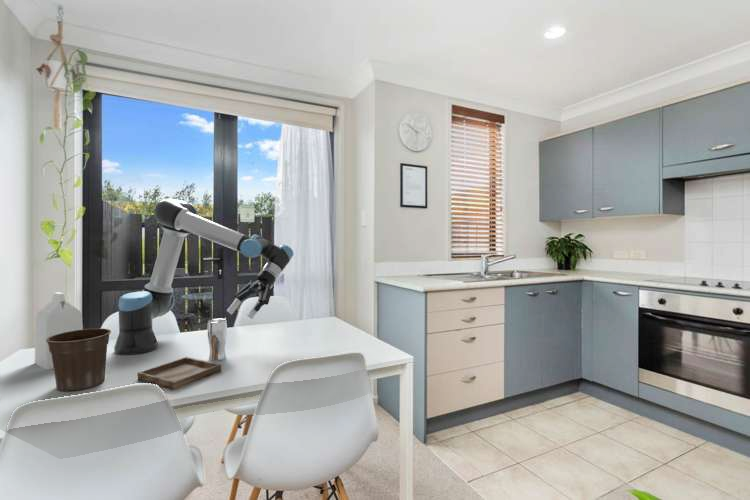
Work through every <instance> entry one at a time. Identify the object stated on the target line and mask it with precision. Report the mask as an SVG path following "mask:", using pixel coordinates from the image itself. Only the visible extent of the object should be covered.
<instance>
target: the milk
mask: <svg viewBox="0 0 750 500" xmlns="http://www.w3.org/2000/svg"><path fill="white" fill-rule="evenodd" d="M83 329H84V325H83V313H82V312H81V311H80V309H78V308H77V307H75V306H74V305H72V304H70V303H69V302H67V301H66V298H65V293H64V292H58V291H57V292H56V291H55V292H53V294H52V299H51V300H50V301H48V302H47V303H46V304H45V305H44V306H43V307H42V308H40V309H39V310H38V311H37V313H36V314H35V335H34V336H35V338H34V339H35V340H34V343H35V344H34V345H35V346H34V364H35V365H37V366H39V367H41V368H43V369H45V370H46V371H48V370H52V369H54V367H53V361H52V355H51V353H50V351H49V345H48V342H46V339H47V338H48V337H50V336H53V335H56V334H60V333H64V332H69V331H75V330H83Z"/></svg>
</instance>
